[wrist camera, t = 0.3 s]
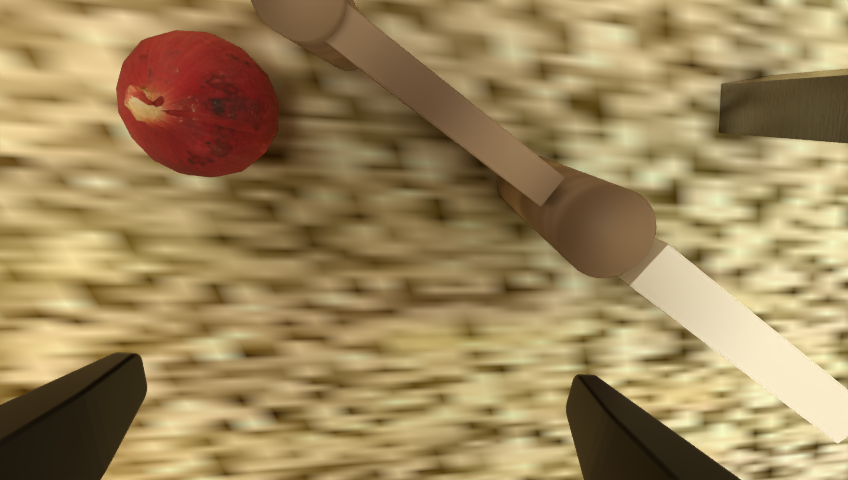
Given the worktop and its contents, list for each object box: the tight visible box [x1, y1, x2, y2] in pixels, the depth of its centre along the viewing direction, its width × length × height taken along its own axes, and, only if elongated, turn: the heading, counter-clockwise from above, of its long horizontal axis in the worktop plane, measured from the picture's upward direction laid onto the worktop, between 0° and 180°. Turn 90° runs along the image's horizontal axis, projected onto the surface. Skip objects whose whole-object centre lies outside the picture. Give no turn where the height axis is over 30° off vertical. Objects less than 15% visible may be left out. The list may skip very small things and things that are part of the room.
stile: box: [719, 69, 848, 143], centre depth 17 cm, size 3×3×11 cm
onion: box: [116, 30, 279, 177], centre depth 17 cm, size 6×6×8 cm
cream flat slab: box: [619, 238, 848, 443], centre depth 20 cm, size 12×2×10 cm, turn 54°
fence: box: [251, 0, 656, 278], centre depth 17 cm, size 14×3×10 cm, turn 54°
